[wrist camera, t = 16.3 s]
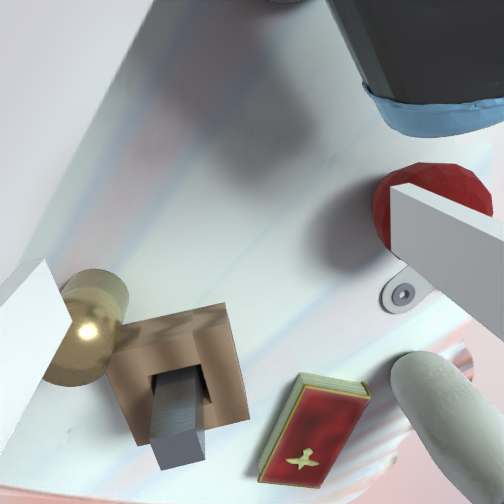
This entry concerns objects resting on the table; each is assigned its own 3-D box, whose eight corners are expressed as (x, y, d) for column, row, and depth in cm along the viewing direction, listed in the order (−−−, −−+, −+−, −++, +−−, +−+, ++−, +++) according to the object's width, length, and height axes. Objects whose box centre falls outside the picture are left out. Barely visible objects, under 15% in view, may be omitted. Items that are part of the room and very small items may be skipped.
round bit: (118, 263, 47) (95, 314, 36) (136, 315, 50) (120, 376, 39) (54, 276, 47) (11, 332, 36) (77, 328, 50) (44, 394, 39)
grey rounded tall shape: (440, 333, 59) (626, 514, 34) (433, 382, 63) (594, 577, 38) (381, 343, 58) (526, 537, 33) (378, 392, 63) (505, 599, 37)
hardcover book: (363, 380, 62) (374, 399, 58) (314, 468, 68) (322, 490, 65) (298, 367, 59) (305, 386, 55) (254, 461, 65) (257, 484, 62)
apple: (447, 151, 47) (534, 172, 35) (428, 237, 52) (500, 280, 40) (358, 152, 46) (417, 173, 34) (347, 240, 50) (395, 286, 38)
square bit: (194, 347, 52) (195, 428, 40) (202, 374, 55) (205, 459, 42) (159, 355, 52) (148, 439, 39) (169, 381, 54) (161, 470, 41)
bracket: (371, 292, 55) (382, 304, 52) (426, 247, 53) (441, 256, 50) (394, 318, 57) (406, 331, 54) (447, 276, 56) (463, 286, 53)
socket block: (224, 302, 51) (228, 327, 46) (244, 388, 58) (250, 419, 53) (109, 328, 51) (99, 356, 45) (143, 412, 57) (137, 446, 52)
